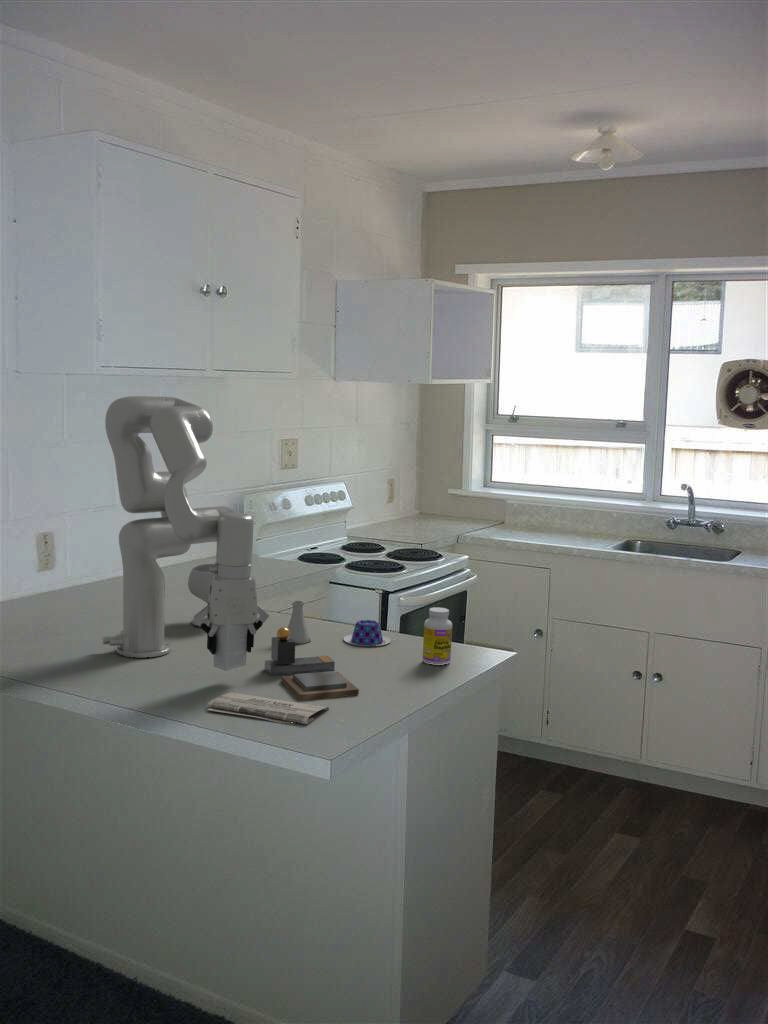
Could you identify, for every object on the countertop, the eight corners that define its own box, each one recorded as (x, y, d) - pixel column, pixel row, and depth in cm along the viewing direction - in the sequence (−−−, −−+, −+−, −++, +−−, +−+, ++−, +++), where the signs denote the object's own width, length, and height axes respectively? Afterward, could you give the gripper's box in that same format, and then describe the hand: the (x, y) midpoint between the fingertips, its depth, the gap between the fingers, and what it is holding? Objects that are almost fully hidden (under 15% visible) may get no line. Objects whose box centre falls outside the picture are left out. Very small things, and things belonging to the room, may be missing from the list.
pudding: (335, 638, 258) (335, 618, 257) (376, 634, 264) (377, 614, 263) (356, 650, 248) (357, 630, 247) (399, 646, 254) (400, 625, 253)
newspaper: (202, 714, 199) (203, 702, 199) (233, 702, 211) (233, 691, 211) (306, 732, 191) (307, 718, 191) (332, 718, 203) (333, 706, 203)
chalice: (227, 615, 277) (228, 561, 275) (249, 626, 266) (250, 570, 264) (179, 620, 270) (179, 565, 268) (200, 632, 258) (200, 574, 256)
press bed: (299, 700, 208) (300, 690, 208) (281, 681, 220) (281, 672, 220) (358, 694, 213) (358, 685, 213) (337, 676, 225) (338, 667, 225)
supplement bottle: (431, 667, 235) (433, 613, 233) (417, 660, 240) (419, 607, 239) (455, 664, 238) (458, 611, 236) (441, 657, 244) (443, 605, 242)
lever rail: (270, 675, 224) (270, 666, 224) (264, 669, 229) (264, 660, 228) (334, 670, 230) (334, 661, 230) (327, 664, 234) (327, 655, 234)
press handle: (277, 664, 224) (278, 630, 223) (271, 658, 229) (271, 625, 228) (294, 663, 226) (295, 629, 225) (288, 657, 230) (288, 624, 229)
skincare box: (233, 661, 221) (235, 608, 219) (246, 665, 219) (249, 612, 217) (211, 666, 216) (214, 612, 215) (225, 671, 214) (227, 616, 212)
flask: (306, 645, 250) (308, 606, 248) (278, 643, 251) (279, 603, 250) (314, 638, 257) (315, 600, 255) (287, 636, 258) (288, 597, 257)
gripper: (196, 576, 207) (193, 659, 210) (278, 574, 214) (274, 654, 217) (189, 568, 214) (186, 648, 217) (268, 566, 221) (264, 644, 224)
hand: (230, 651), depth 217 cm, fingers closed on skincare box, 7 cm apart
